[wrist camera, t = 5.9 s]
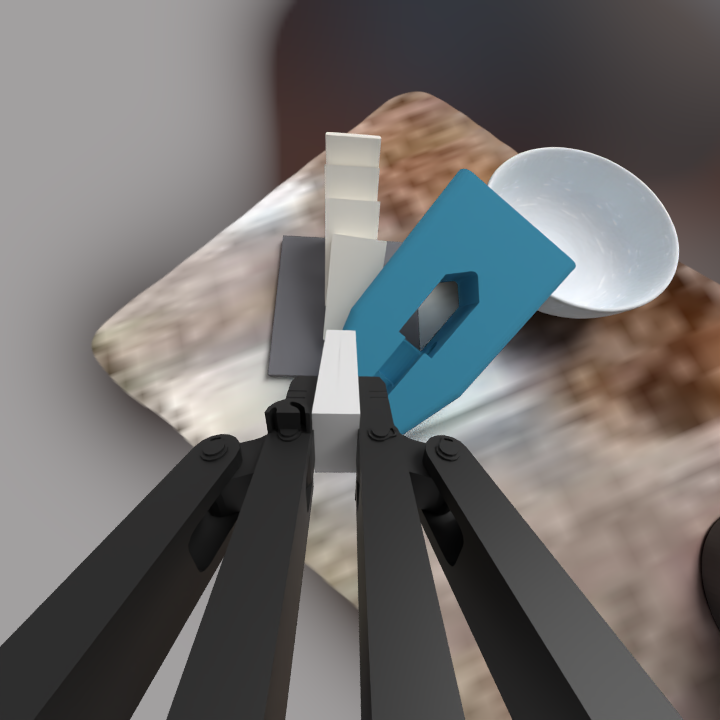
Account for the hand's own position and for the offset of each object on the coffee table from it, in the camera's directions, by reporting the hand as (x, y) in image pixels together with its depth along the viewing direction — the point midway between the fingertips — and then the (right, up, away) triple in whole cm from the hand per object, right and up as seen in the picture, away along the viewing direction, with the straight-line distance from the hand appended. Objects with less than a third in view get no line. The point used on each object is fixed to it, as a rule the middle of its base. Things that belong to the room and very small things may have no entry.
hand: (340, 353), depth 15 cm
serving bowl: (+24, +12, +20) cm, 34 cm away
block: (+1, -5, +11) cm, 12 cm away
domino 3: (0, +6, +15) cm, 16 cm away
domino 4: (0, +2, +14) cm, 14 cm away
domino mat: (0, +6, +17) cm, 18 cm away
